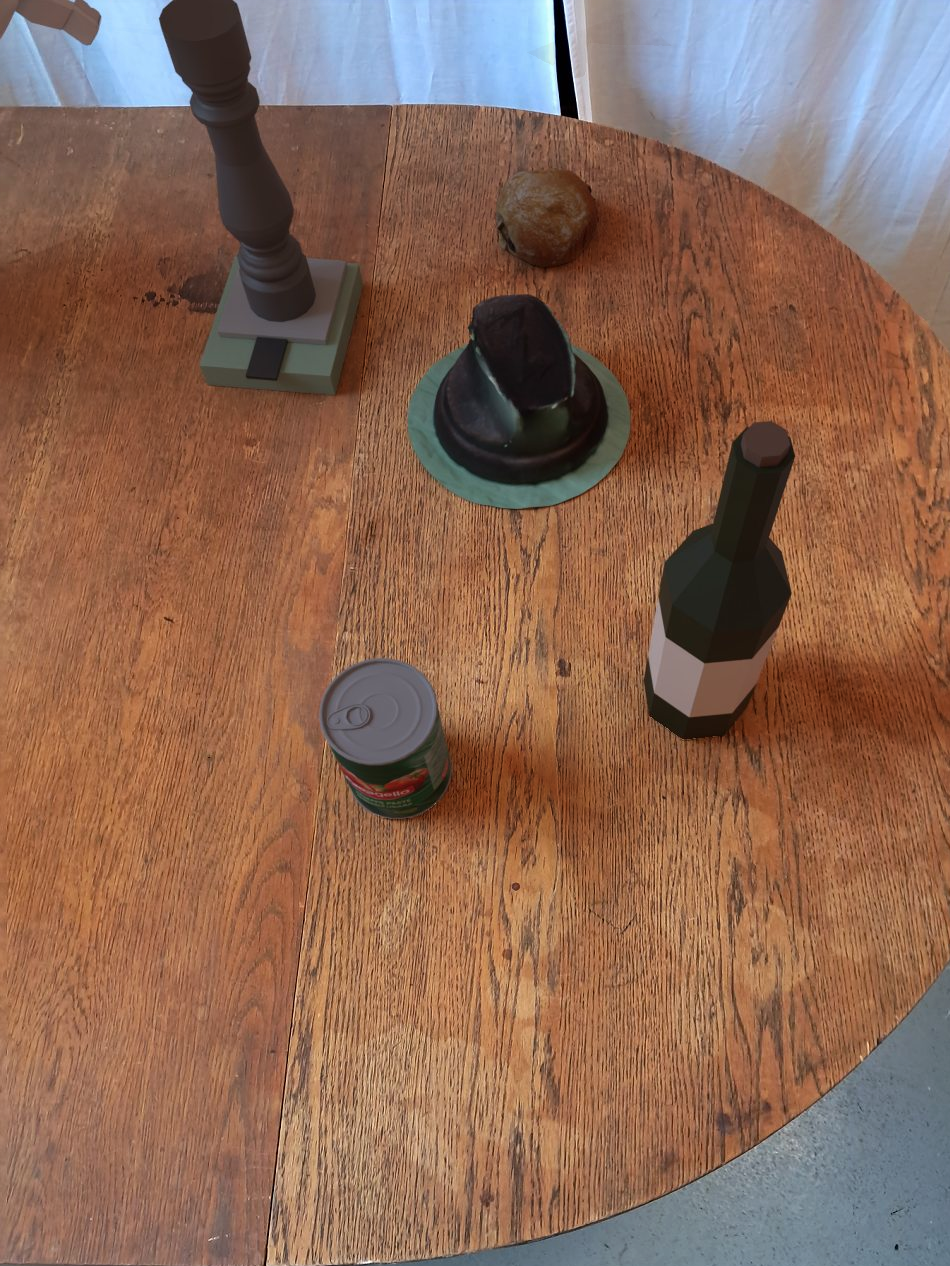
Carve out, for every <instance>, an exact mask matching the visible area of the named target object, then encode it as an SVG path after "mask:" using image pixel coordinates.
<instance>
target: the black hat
mask: <svg viewBox="0 0 950 1266" xmlns="http://www.w3.org/2000/svg"><path fill="white" fill-rule="evenodd" d="M471 315H472V316H471V317H470V319H471V321H470V324H469V325H468V326H467V329H468V332H469V334H470V339H469V341H468V343H467V344H464V345H462V346H461V347H457V348H456V349H454V350H452V351H450V352H449V353H447V354H446V355H445V356H443V357H441V358H440V359H437V361H435V362H434V363H433V364H432V365H431V366H430V367H429V369H428V370H427V372H426V373H425V374H424V375H423V376H422V377H421V379H420V380H419V382H418V384H417V385H416V387H415V389H414V391H413V393H412V395H411V398H410V400H409V403H408V408H407V432H408V437H409V441H410V443H411V447H412V449H413V451H414V453H415V455H416V456H417V458H418V460H419V462H420V463H421V464H422V466H423V467H424V469H425V470H426V471H427V472H428V473H429V474H430V475H431V476H432V478H434V479H435V480H436V481H437V482H439V484H441V485H442V486H443V487H444V488H445V489H446V490H448V491H450V492H451V493H453V494H454V495H456V496H458V497H459V498H462V499H465V500H466V501H468V502H470V503H474V504H478V505H483V506H490V507H495V508H499V509H510V510H511V509H512V510H521V509H528V508H539V507H550V506H554V505H557V504H561V503H564V502H566V501H568V500H571V499H573V498H575V497H577V496H580V495H581V494H583V493H585V492H586V491H588V490H590V489H591V488H593V487H594V486H596V485H597V484H598V483H599V482H601V480H602V479H604V478H605V477H606V476H607V475H608V474H609V473H610V471H612V469H613V468H614V467H615V466H616V464H618V462H619V461H620V459H621V458H622V456H623V454H624V452H625V449H626V447H627V444H628V441H629V437H630V432H631V422H632V421H631V410H630V409H631V408H630V405H629V401H628V397H627V394H626V393H625V391H624V388H623V387H622V384H621V383H620V382H619V381H618V378H617V377H616V376H615V374H614V373H613V372H612V371H611V370H610V369H609V368H608V367H607V366H606V365H604V363H602V362H601V361H600V360H599V359H597V357H594V356H593V355H592V354H591V353H589V352H588V351H585V350H584V349H582V348H580V347H578V346H577V345H574V344H572V343H571V338H570V336H569V334H568V333H567V332H566V329H564V326H563V325H562V323H561V321H560V320H559V319H558V318H556V317H555V316H554V313H553V311H552V310H551V307H549V305H547V303H546V302H544V301H543V300H542V299H540V297H537V296H535V295H534V294H533V295H532V294H530V293H525V294H523V293H522V294H503V295H502V294H501V295H497V296H491V297H489V298H486V299H482V300H481V301H480V302H479V303H477V304H475V306H474V307H472V311H471Z"/></svg>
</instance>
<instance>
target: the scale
mask: <svg viewBox="0 0 950 1266" xmlns="http://www.w3.org/2000/svg"><path fill="white" fill-rule="evenodd" d="M306 258H307V262H308V265H309V269H310V273H311V277H312V281H313V285H314V289H315V293H316V296H315V300H314V304H313V305H312V307H311V308H310V309H309V310H308V311H307V312H306V313H305V314H303V315H301V316H300V317H298V318H296V319H293V320H289V321H284V322H274V321H267V320H265V319H263V318H260V317H258V316H257V315H256V314H255V313H254V312H253V311H252V310H251V308H250V305H249V302H248V299H247V296H246V293H245V290H244V287H243V284H242V281H241V277H240V273H239V269H240V266H239V262H238V258H237V254H235V255H234V257H233V261H232V264H231V267H230V269H229V273H228V276H227V280H226V282H225V285H224V288H223V291H222V295H221V298H220V301H219V304H218V306H217V310H216V313H215V316H214V319H213V322H212V326H211V328H210V332H209V335H208V337H207V340H206V344H205V347H204V350H203V352H202V356H201V360H200V362H199V368H200V371H201V373H202V375H203V378H204V380H205V382H206V385H207V386H213V387H216V386H217V387H228V388H238V389H239V388H240V389H251V390H265V391H276V392H277V391H278V392H288V393H289V392H290V393H302V394H314V395H325V396H326V395H327V396H336V395H337V391H338V387H339V382H340V379H341V375H342V371H343V366H344V363H345V359H346V354H347V351H348V346H349V343H350V339H351V335H352V332H353V327H354V323H355V319H356V315H357V311H358V307H359V303H360V298H361V295H362V291H363V286H364V282H363V276H362V273H361V268H360V267H361V266H360V263H357V262H354V263H353V262H347V260H341V259H328V258H327V259H326V258H317V257H315V258H314V257H306Z"/></svg>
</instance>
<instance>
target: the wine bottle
mask: <svg viewBox="0 0 950 1266" xmlns="http://www.w3.org/2000/svg"><path fill="white" fill-rule="evenodd" d="M795 459H796V453H795V448H794V446H793V442H792V437H791V436H789V433H788V430H787V429H786V428H785V427H783V426H781V425H779V424H777V423H776V422H774V421H773V420H766V421H755V422H752V423H751V424H750V426H746V427H744V429H743V430H742V431H741V432H740V434H738V436H737V437H735V439H734V440H732V443H731V446H730V451H729V455H728V459H727V464H726V467H725V472H724V476H723V479H722V484H721V487H720V493H719V497H718V500H717V505H716V510H715V513H714V518H713V522H712V523H711V524H707V525H705V526H702V527H699V528H696V529H694V530H692V531H691V532H690V533H689V535H687V537H686V538H685V539H684V540H683V541H682V543H680V545H679V546H678V547H677V548H676V549H675V550H674V551H673V552H672V553H671V554H670V556H669V557H668V558H667V559H666V560H665V561H664V563H663V567H662V568H663V569H662V574H661V580H660V584H659V585H660V586H659V590H658V591H659V592H658V597H657V603H656V606H655V607H656V608H655V613H654V619H653V625H652V631H651V637H650V642H649V646H648V647H649V648H648V654H647V657H646V658H647V659H646V665H645V669H644V676H643V686H645V687H644V691H645V698H647V699H646V705H647V704H648V705H647V710H649V711H648V717H649V716H650V717H652V718H653V719H654V720H653V719H652V718H651V719H652V720H653V721H655V722H656V721H657V722H659V723H660V724H662V725H663V726H664V727H663V726H662V725H661V726H662V727H663V728H665V727H666V728H668V729H669V730H670V731H671V732H670V731H669V730H668V731H669V732H670V733H672V732H673V733H674V734H676V735H677V736H678V737H677V736H676V735H675V736H676V737H677V738H679V737H680V738H682V739H691V740H694V739H693V738H702V739H706V738H705V737H712V738H714V737H713V736H722V737H724V736H725V735H727V733H728V732H729V730H730V729H731V728H732V727H733V726H734V724H735V723H736V722H737V721H738V719H739V718H740V717H741V716H742V715H743V713H744V712H745V711H746V710H747V708H748V706H749V704H750V701H751V699H752V696H753V693H754V690H755V688H756V686H757V683H758V681H759V678H760V676H761V673H762V671H763V667H764V665H765V663H766V661H767V658H768V655H769V652H770V650H771V648H772V645H773V643H774V640H775V638H776V635H777V632H778V629H779V628H780V625H781V622H782V620H783V617H784V616H785V615H784V614H785V613H786V609H787V607H788V604H789V602H790V599H791V597H792V594H793V592H792V588H791V584H790V580H789V576H788V572H787V567H786V564H785V559H784V555H783V551H782V550H781V549H780V548H779V546H778V545H777V544H776V543H775V542H774V540H773V539H771V537H770V535H771V533H772V530H773V527H774V524H775V521H776V518H777V514H778V511H779V508H780V506H781V502H782V498H783V496H784V493H785V489H786V487H787V483H788V481H789V478H790V475H791V471H792V469H793V465H794V463H795ZM744 710H745V711H744ZM743 711H744V712H743ZM742 712H743V713H742ZM740 715H741V716H740ZM739 716H740V717H739ZM650 717H649V718H650ZM738 717H739V718H738ZM735 721H736V722H735ZM657 722H656V723H657ZM659 723H658V724H659ZM660 724H659V725H660ZM731 726H732V727H731ZM666 728H665V729H666ZM727 731H728V732H727ZM726 732H727V733H726ZM673 733H672V734H673ZM674 734H673V735H674ZM680 738H679V739H680ZM682 739H681V740H682Z"/></svg>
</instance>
